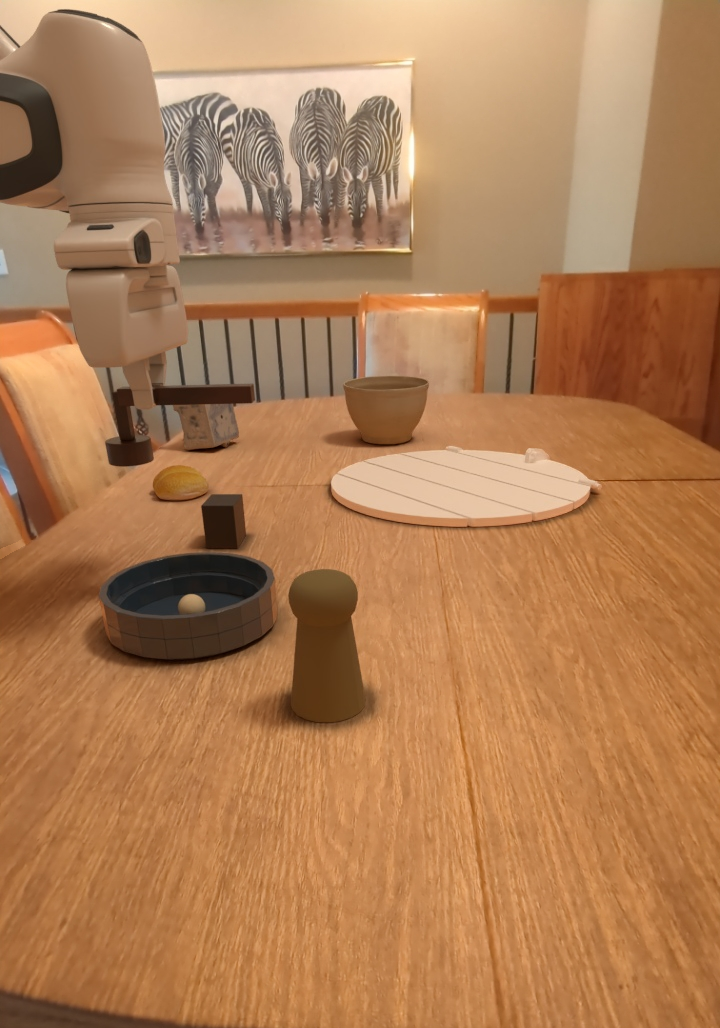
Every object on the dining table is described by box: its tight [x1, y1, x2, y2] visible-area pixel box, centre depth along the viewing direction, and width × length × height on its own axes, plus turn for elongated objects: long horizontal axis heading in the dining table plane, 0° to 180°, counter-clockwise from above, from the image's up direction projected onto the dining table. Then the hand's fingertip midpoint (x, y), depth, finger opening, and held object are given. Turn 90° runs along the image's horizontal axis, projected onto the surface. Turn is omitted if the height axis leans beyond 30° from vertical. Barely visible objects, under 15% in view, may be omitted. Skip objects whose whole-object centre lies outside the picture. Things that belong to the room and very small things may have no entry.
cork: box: [287, 568, 366, 724], centre depth 58 cm, size 6×6×11 cm
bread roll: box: [152, 464, 210, 501], centre depth 115 cm, size 8×9×4 cm
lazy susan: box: [330, 445, 603, 528], centre depth 116 cm, size 40×39×3 cm
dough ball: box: [178, 594, 205, 615], centre depth 74 cm, size 3×3×3 cm
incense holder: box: [172, 404, 240, 451], centre depth 143 cm, size 10×8×10 cm
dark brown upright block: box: [200, 493, 247, 550], centre depth 95 cm, size 4×5×6 cm
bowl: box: [98, 551, 279, 661], centre depth 73 cm, size 16×16×4 cm
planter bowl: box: [342, 375, 430, 445], centre depth 144 cm, size 16×16×11 cm
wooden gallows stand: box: [104, 383, 256, 468], centre depth 74 cm, size 15×4×7 cm, turn 86°
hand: (151, 405), depth 73 cm, fingers closed on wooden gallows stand, 2 cm apart
